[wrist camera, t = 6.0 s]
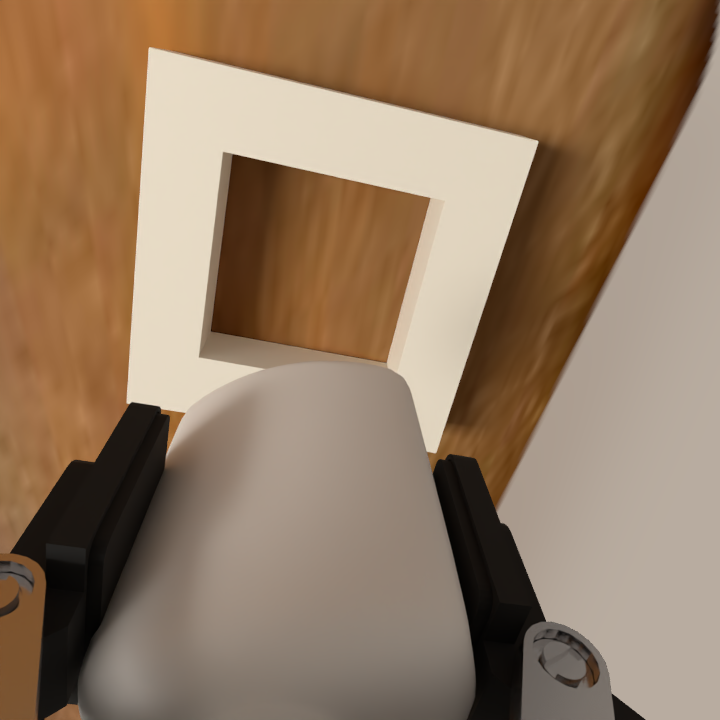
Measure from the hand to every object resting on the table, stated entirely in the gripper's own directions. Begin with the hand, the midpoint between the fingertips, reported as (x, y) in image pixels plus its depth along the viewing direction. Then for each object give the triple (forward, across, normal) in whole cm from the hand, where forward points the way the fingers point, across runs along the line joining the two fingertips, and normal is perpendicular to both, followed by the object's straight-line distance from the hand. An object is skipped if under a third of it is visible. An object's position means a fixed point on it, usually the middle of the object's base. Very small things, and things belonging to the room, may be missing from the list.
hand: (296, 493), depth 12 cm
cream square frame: (+17, 0, 0) cm, 17 cm away
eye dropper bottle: (+3, 0, 0) cm, 3 cm away
